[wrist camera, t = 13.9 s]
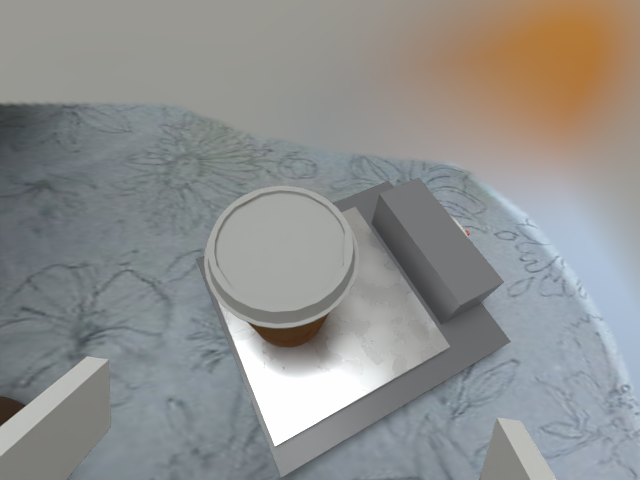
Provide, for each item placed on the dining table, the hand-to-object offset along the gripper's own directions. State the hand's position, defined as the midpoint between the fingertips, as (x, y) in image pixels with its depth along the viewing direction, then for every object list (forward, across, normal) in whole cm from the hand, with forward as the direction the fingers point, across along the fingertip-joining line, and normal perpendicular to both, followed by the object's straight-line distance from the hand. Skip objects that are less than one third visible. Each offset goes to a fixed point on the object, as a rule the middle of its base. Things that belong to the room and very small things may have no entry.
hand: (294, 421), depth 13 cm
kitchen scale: (+24, +2, -7) cm, 24 cm away
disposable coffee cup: (+19, -3, -6) cm, 20 cm away
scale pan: (+20, 0, -5) cm, 21 cm away
